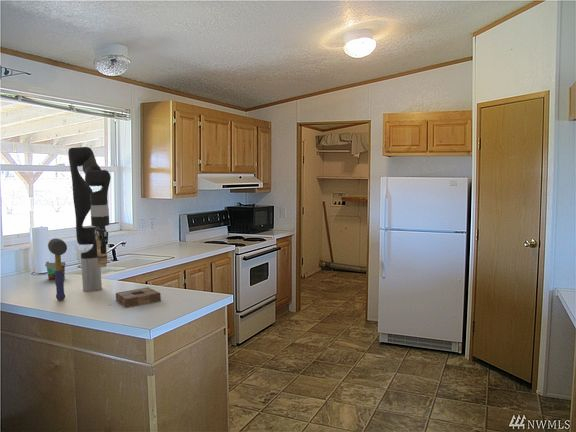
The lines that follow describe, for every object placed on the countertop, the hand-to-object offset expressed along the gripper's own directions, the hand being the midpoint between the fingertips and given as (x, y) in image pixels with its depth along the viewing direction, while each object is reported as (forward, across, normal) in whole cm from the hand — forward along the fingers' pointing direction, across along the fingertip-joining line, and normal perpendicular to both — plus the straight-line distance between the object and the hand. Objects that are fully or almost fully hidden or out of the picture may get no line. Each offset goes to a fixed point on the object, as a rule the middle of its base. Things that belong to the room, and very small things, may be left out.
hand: (102, 252), depth 211 cm
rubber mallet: (+25, -28, -13) cm, 40 cm away
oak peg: (+6, 0, 0) cm, 6 cm away
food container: (+26, -82, -5) cm, 86 cm away
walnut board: (+25, 0, +16) cm, 30 cm away
